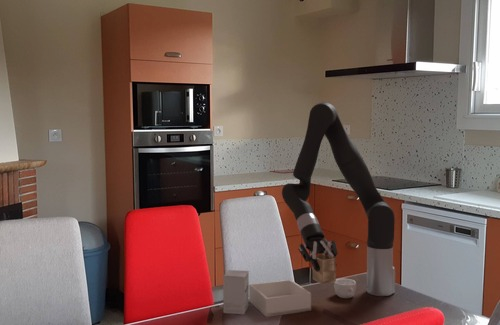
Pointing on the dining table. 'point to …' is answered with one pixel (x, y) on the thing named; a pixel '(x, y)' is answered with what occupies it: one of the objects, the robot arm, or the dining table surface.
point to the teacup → (345, 288)
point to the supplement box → (235, 292)
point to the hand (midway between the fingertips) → (326, 269)
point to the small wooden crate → (325, 269)
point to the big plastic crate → (279, 298)
